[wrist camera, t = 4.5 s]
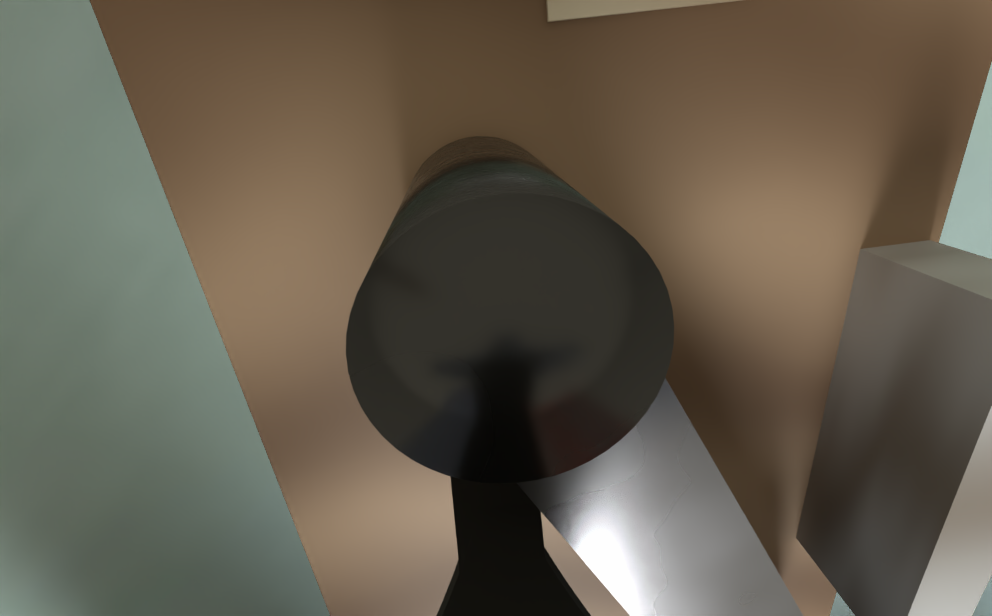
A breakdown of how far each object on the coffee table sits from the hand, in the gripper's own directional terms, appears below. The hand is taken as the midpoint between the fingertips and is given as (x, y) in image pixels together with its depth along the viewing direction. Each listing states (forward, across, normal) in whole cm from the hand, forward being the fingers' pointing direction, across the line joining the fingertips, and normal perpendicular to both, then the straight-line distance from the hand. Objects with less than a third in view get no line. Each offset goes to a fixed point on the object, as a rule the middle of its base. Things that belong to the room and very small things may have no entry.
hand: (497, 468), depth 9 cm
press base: (+3, -2, 0) cm, 4 cm away
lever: (+1, -3, +1) cm, 4 cm away
